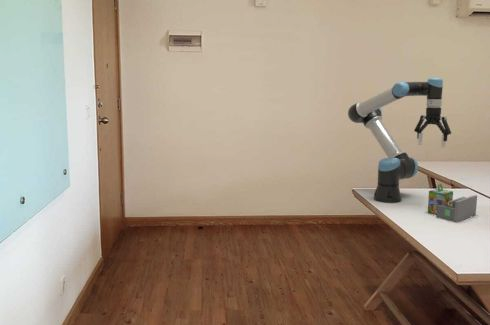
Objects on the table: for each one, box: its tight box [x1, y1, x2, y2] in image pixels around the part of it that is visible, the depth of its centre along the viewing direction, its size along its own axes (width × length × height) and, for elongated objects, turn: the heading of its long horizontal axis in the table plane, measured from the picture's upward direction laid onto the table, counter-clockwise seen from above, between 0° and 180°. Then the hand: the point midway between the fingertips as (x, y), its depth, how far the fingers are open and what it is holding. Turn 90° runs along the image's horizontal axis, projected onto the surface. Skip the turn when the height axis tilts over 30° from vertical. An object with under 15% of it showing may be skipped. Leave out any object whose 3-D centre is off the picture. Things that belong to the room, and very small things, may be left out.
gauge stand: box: [435, 194, 478, 223], centre depth 230 cm, size 11×20×10 cm, turn 128°
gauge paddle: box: [448, 196, 467, 208], centre depth 229 cm, size 1×16×8 cm, turn 128°
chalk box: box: [427, 183, 454, 215], centre depth 236 cm, size 9×9×15 cm
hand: (431, 146), depth 252 cm, fingers open, 13 cm apart
